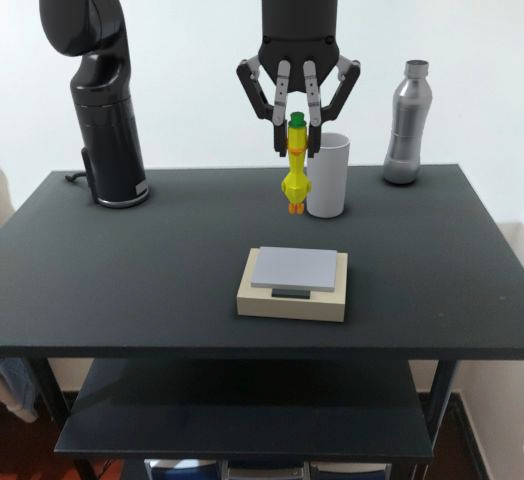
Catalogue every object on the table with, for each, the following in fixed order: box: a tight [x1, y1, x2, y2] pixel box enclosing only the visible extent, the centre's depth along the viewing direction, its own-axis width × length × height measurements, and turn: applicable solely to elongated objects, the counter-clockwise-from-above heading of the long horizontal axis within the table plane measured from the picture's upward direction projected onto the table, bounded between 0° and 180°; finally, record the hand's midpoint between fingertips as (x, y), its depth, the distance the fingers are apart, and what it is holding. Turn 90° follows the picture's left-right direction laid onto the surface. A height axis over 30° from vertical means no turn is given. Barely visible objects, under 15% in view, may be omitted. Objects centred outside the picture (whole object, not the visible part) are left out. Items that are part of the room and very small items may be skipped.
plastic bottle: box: [382, 59, 434, 185], centre depth 94 cm, size 6×7×20 cm
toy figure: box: [281, 111, 311, 215], centre depth 64 cm, size 7×4×12 cm, turn 174°
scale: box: [236, 246, 348, 323], centre depth 75 cm, size 14×12×4 cm
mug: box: [306, 131, 351, 219], centre depth 90 cm, size 10×7×12 cm, turn 167°
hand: (297, 154), depth 64 cm, fingers closed on toy figure, 2 cm apart
